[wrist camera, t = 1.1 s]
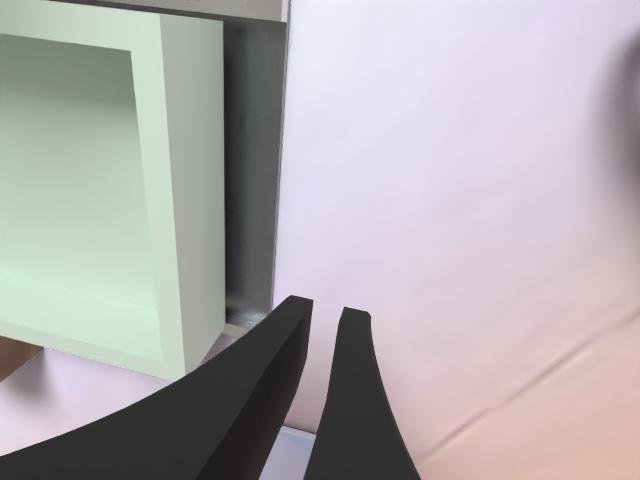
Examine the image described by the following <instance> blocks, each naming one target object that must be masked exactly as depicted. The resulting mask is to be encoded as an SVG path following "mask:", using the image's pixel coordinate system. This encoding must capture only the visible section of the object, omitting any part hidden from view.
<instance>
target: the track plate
mask: <svg viewBox="0 0 640 480" xmlns="http://www.w3.org/2000/svg"><path fill="white" fill-rule="evenodd" d="M49 1H58V2H66V3H75V4H83V5H92V6H100V7H108V8H117V9H125V10H134V11H142V12H151V13H159V14H167V15H176V16H184V17H193V18H201V19H210V20H218V21H223V77H224V215H225V328H224V330H223V331H222V333H221V334H225V335H229V336H233V337H237V338H241V337H242V336H243V335H244V334H246V333H247V332H248V331H249V330H251V329H252V328H253V327H254V326H256V325H257V324H258V323H259V322H260V321H262V320H263V319H264V318H265V317H266V316H267V315H268V314H270V313H271V312H272V300H273V284H274V267H275V250H276V234H277V217H278V200H279V184H280V167H281V150H282V134H283V117H284V100H285V83H286V67H287V50H288V33H289V17H290V0H49Z"/></svg>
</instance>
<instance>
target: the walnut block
mask: <svg viewBox="0 0 640 480" xmlns="http://www.w3.org/2000/svg"><path fill="white" fill-rule="evenodd" d="M42 348H44V347H42V346H38V345H35V344H31V343H27V342H23V341H20V340H16V339H12V338H8V337H5V336H1V335H0V382H2V381H3V380H4V379H5V378H7V377H8V376H9V375H10V374H12V373H13V372H14V371H15V370H16V369H18V368H19V367H20V366H21V365H23V364H24V363H25V362H26V361H28V360H29V359H30V358H31V357H32V356H34V355H35V354H36V353H37V352H39V351H40V350H41V349H42Z"/></svg>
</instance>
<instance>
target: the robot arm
mask: <svg viewBox="0 0 640 480" xmlns="http://www.w3.org/2000/svg"><path fill="white" fill-rule="evenodd" d="M312 308H313V300H311V299H307V298H302V297H298V296H293V295H291V296H289V297H287V298H286V299H285V300H284V301H283V302H282V303H281V304H280V305H278V306H277V307H276V308H275V309H274V310H273V311H272V312H271V313H270V314H268V315H267V316H266V317H265V318H264V319H263V320H262V321H260V322H259V323H258V324H257V325H256V326H254V327H253V328H252V329H251V330H249V331H248V332H247V333H246V334H244V335H243V336H242V337H241V338H239V339H238V340H237V341H235V342H234V343H233V344H231V345H230V346H229V347H227V348H226V349H224V350H223V351H222V352H220V353H219V354H217V355H216V356H215V357H213V358H212V359H210V360H209V361H207V362H206V363H204V364H203V365H201V366H200V367H198V368H197V369H195V370H194V371H192V372H190V373H189V374H187V375H185V376H184V377H182V378H180V379H179V380H177V381H175V382H174V383H172V384H170V385H168V386H166V387H164V388H163V389H161V390H159V391H157V392H155V393H153V394H152V395H150V396H148V397H146V398H144V399H142V400H140V401H138V402H136V403H134V404H132V405H130V406H128V407H126V408H124V409H121V410H119V411H117V412H115V413H112V414H110V415H108V416H106V417H103V418H101V419H99V420H97V421H94V422H92V423H89V424H87V425H85V426H82V427H80V428H77V429H75V430H72V431H70V432H67V433H65V434H62V435H60V436H57V437H54V438H51V439H48V440H46V441H43V442H40V443H37V444H34V445H32V446H29V447H26V448H23V449H20V450H18V451H15V452H12V453H9V454H6V455H3V456H0V480H421V478H420V476H419V474H418V472H417V470H416V468H415V466H414V463H413V461H412V459H411V457H410V455H409V453H408V450H407V448H406V446H405V444H404V441H403V439H402V436H401V434H400V432H399V429H398V427H397V424H396V421H395V419H394V416H393V413H392V411H391V408H390V405H389V402H388V399H387V396H386V393H385V390H384V386H383V383H382V380H381V376H380V372H379V368H378V364H377V360H376V356H375V351H374V346H373V340H372V332H371V316H370V314H369V313H368V312H366V311H361V310H357V309H352V308H348V307H344V309H343V312H342V315H341V318H340V321H339V324H338V331H337V337H336V343H335V350H334V356H333V362H332V368H331V375H330V381H329V387H328V394H327V400H326V403H325V407H324V410H323V414H322V417H321V421H320V424H319V428H318V431H317V434H316V435H315V434H312V433H308V432H304V431H301V430H297V429H293V428H290V427H286V426H282V424H283V422H284V420H285V418H286V415H287V413H288V411H289V408H290V406H291V404H292V401H293V399H294V396H295V394H296V391H297V388H298V385H299V382H300V378H301V375H302V372H303V369H304V365H305V362H306V358H307V350H308V342H309V333H310V325H311V316H312Z"/></svg>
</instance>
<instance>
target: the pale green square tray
mask: <svg viewBox="0 0 640 480" xmlns="http://www.w3.org/2000/svg"><path fill="white" fill-rule="evenodd" d="M224 328H225V215H224V77H223V21H218V20H210V19H201V18H193V17H184V16H176V15H167V14H159V13H151V12H142V11H134V10H125V9H117V8H108V7H100V6H92V5H83V4H75V3H66V2H58V1H49V0H0V335H1V336H5V337H8V338H12V339H16V340H20V341H23V342H27V343H31V344H35V345H38V346H42V347H46V348H50V349H53V350H57V351H61V352H65V353H69V354H72V355H76V356H80V357H84V358H87V359H91V360H95V361H99V362H102V363H106V364H110V365H114V366H117V367H121V368H125V369H129V370H133V371H136V372H140V373H144V374H148V375H151V376H155V377H159V378H163V379H166V380H170V381H174V382H175V381H177V380H179V379H180V378H182V377H184V376H185V375H187V374H189V373H190V372H192V371H194V370H195V369H197V368H198V366H199V365H200V363H201V362H202V360H203V359H204V357H205V356H206V355H207V353H208V352H209V350H210V349H211V347H212V346H213V344H214V343H215V341H216V340H217V338H218V337H219V335H220V334H221V333H222V331H223V330H224Z"/></svg>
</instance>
